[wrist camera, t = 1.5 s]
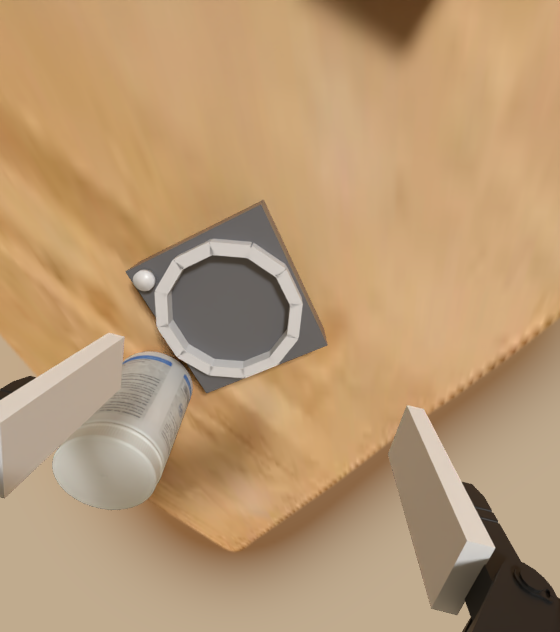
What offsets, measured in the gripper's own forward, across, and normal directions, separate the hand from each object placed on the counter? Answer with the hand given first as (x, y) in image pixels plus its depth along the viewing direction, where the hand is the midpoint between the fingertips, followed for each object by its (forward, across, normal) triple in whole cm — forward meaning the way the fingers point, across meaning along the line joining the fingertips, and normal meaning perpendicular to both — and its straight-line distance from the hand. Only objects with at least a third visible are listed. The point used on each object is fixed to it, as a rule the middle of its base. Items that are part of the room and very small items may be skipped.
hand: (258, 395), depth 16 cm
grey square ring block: (+24, -6, -3) cm, 25 cm away
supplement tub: (+24, -14, -16) cm, 33 cm away
